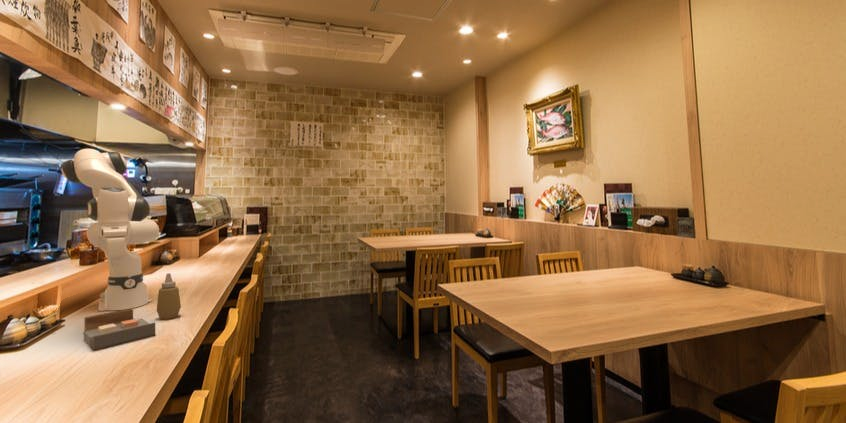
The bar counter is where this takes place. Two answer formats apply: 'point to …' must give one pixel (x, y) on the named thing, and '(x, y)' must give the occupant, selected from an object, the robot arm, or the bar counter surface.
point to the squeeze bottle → (168, 299)
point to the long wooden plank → (107, 319)
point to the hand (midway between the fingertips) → (115, 267)
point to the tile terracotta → (129, 323)
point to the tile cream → (107, 328)
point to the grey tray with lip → (119, 335)
